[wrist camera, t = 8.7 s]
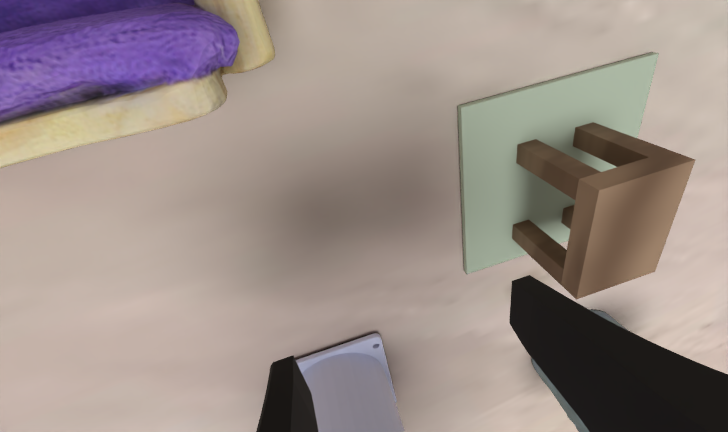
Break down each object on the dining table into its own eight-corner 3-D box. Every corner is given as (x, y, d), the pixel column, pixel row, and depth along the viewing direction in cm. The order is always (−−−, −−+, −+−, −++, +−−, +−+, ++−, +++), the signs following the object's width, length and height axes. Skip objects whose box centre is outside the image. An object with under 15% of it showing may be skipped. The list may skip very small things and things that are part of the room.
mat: (610, 222, 27) (615, 225, 27) (463, 270, 26) (466, 274, 25) (652, 52, 20) (658, 53, 20) (457, 105, 19) (461, 107, 19)
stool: (593, 122, 21) (695, 159, 16) (576, 217, 25) (654, 271, 20) (517, 144, 21) (599, 190, 16) (511, 238, 25) (576, 299, 20)
